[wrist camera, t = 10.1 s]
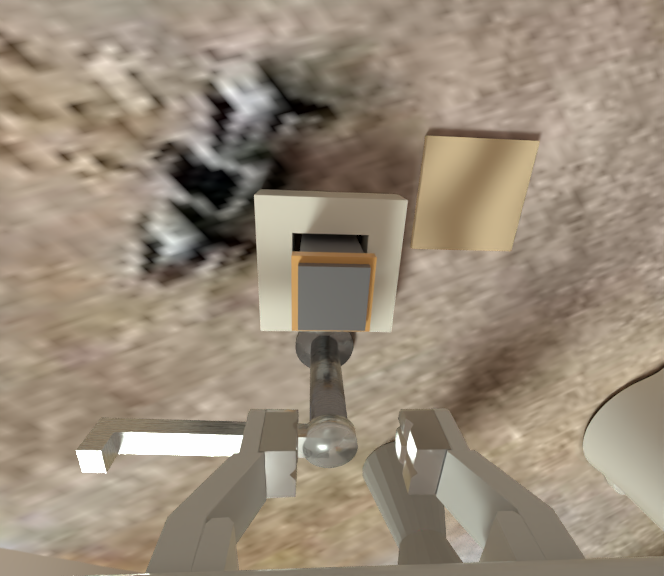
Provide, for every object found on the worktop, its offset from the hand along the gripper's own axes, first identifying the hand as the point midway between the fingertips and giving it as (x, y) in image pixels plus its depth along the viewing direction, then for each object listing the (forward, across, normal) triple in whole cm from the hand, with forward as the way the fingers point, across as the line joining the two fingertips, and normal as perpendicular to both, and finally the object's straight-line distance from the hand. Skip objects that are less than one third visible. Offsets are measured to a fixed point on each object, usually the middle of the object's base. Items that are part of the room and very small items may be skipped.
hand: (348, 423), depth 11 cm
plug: (+17, 0, 0) cm, 17 cm away
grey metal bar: (+7, +6, +8) cm, 12 cm away
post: (+17, 0, +8) cm, 19 cm away
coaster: (+17, -10, -5) cm, 21 cm away
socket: (+17, 0, 0) cm, 17 cm away
